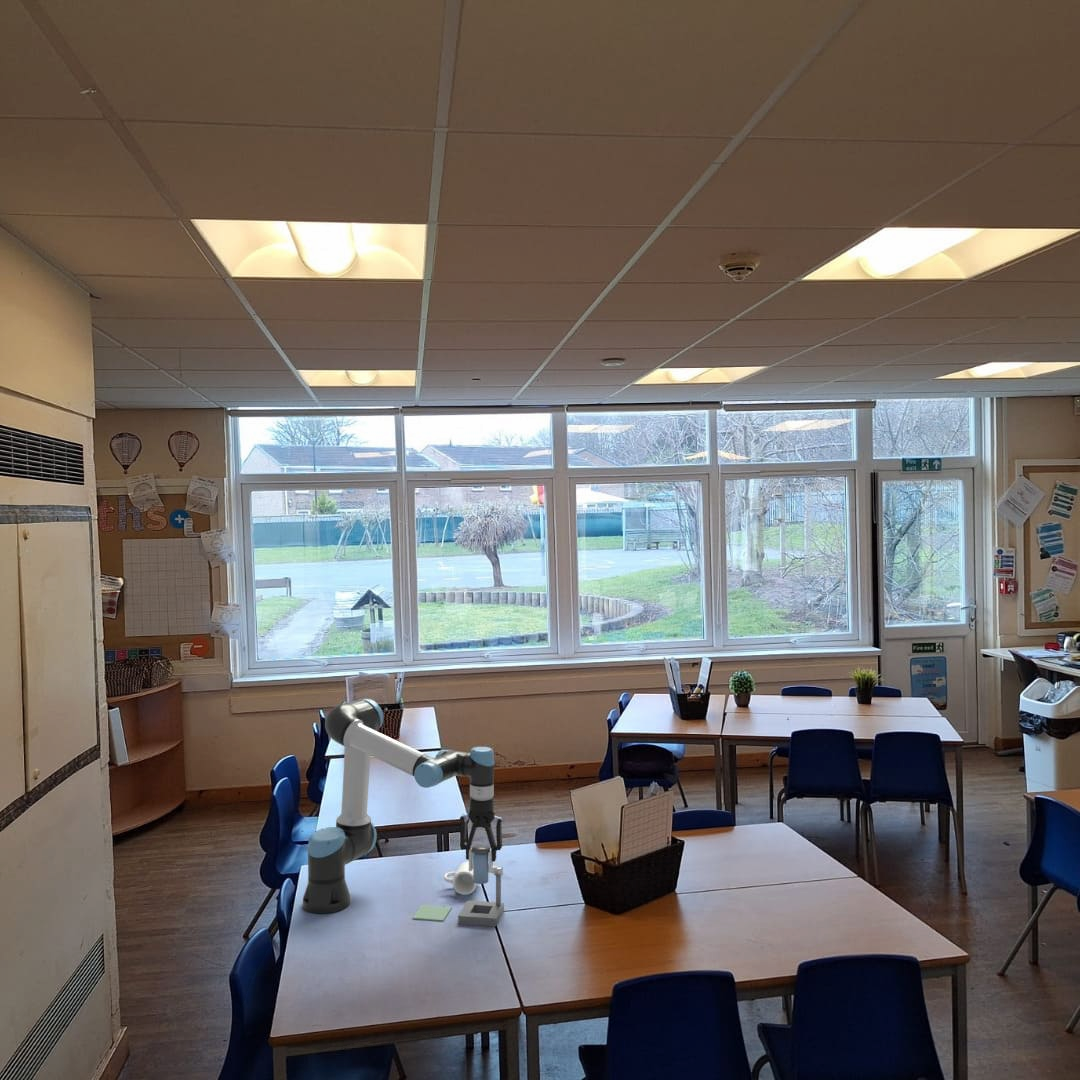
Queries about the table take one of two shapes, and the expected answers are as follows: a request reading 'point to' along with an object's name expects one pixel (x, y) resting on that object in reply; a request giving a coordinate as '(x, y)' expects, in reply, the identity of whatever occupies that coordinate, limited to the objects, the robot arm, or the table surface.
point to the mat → (432, 913)
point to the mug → (462, 879)
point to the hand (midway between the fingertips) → (480, 870)
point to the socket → (483, 910)
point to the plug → (480, 863)
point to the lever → (497, 870)
